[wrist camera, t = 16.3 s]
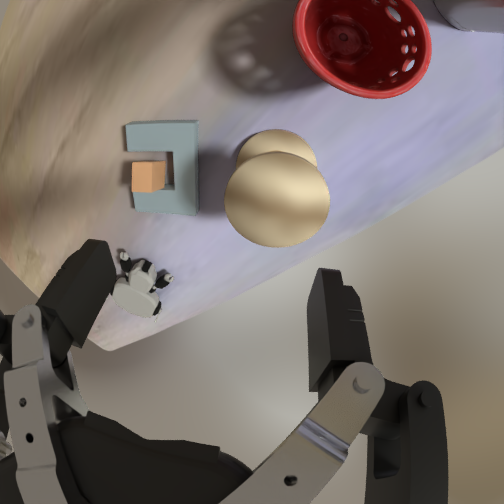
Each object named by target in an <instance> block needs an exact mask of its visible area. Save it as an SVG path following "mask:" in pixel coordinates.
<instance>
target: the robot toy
mask: <svg viewBox="0 0 504 504" xmlns="http://www.w3.org/2000/svg"><path fill="white" fill-rule="evenodd" d="M120 258H121V260H120V264H121V268H122V270H123V271H124V272H126V275H125V278H119V279H118V280H116V281H115V284H114V286H113V287H112V289H111V291H110V294H111V295H112V299H113V301H114V302H115V303H116V304H117V305H118V306H119V307H121V308H122V309H124V310H126V311H127V312H129V313H131V314H134V315H137V316H140V317H144V318H147V317H151V316H153V315H154V316H155V315H156V314H158V313H159V314H160V312H161V310H162V308H161V302H160V301H159V296H158V295H157V294H156V292H155V290H156V288H161V289H162V288H164V287H165V286H167V285H168V284H169V282H172V281H173V280H174V277H173V276H172V277H171V274H170V273H168V274H166V275H163V276H161V277H160V278H158V279H157V281H156V283H155V284H154V282H155V280H156V278H157V273H156V270H155V266H154V265H153V264H152V265H151V263H150V262H148V261H145V260H141V261H140V262H138V263H136V264H135V265H134V266H133V268H132V269H131V260H130V258H129V255H128V253H127V252H124V253H123V252H121V253H120ZM144 262H145V263H144ZM150 266H151V267H150ZM130 269H131V271H130ZM107 298H108V297H107ZM107 298H106V299H107ZM159 314H158V316H159ZM158 316H157V318H158ZM157 318H156V320H155V323H156V321H157Z"/></svg>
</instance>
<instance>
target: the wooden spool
mask: <svg viewBox="0 0 504 504" xmlns="http://www.w3.org/2000/svg"><path fill="white" fill-rule="evenodd" d="M224 206H225V211H226V214H227V217H228V219H229V221H230V223H231V224H232V226H233V227H234V228H235V230H236V231H237V232H238V233H239V234H241V235H242V236H243V237H245V238H246V239H248V240H250V241H251V242H253V243H256V244H259V245H262V246H267V247H277V248H278V247H288V246H293V245H296V244H299V243H301V242H303V241H305V240H307V239H309V238H310V237H312V236H313V235H314V234H315V233H316V232H317V231H318V230H319V229H320V228H321V227H322V225H323V224H324V222H325V220H326V218H327V215H328V212H329V207H330V196H329V191H328V187H327V185H326V182H325V180H324V178H323V176H322V175H321V173H320V172H319V171H318V169H317V162H316V158H315V155H314V153H313V151H312V149H311V147H310V146H309V145H308V143H307V142H306V141H305V140H304V139H302V138H301V137H300V136H298V135H297V134H294V133H292V132H289V131H286V130H280V129H272V130H266V131H263V132H260V133H258V134H256V135H254V136H253V137H251V138H250V139H249V140H248V141H247V142H246V143H245V144H244V145H243V147H242V148H241V150H240V152H239V155H238V158H237V161H236V170H235V171H234V173H233V174H232V176H231V177H230V180H229V182H228V184H227V187H226V191H225V196H224Z"/></svg>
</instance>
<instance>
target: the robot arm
mask: <svg viewBox="0 0 504 504" xmlns="http://www.w3.org/2000/svg"><path fill="white" fill-rule="evenodd" d="M434 3H435V5H436V7H437V9H438V10H439V12H440V13H441V15H442V16H443V17H444V18H445V19H446V20H447V21H448V22H449V23H450V24H451V25H453V26H454V27H456V28H458V29H460V30H462V31H471V32H492V33H504V0H434ZM115 281H116V268H115V265H114V262H113V259H112V256H111V252H110V249H109V246H108V243H107V242H106V241H102V240H95V239H88V240H87V241H86V242H85V243H84V244H83V246H82V247H81V248H80V250H77V251H76V252H75V253H73V254H72V255H71V256H69V257H68V258H67V260H66V261H65V262H64V264H63V265H62V266H61V269H59V270H58V272H57V273H56V276H54V278H53V279H52V280H51V282H50V283H49V285H48V286H47V288H46V289H45V291H44V292H43V294H42V295H41V297H40V298H39V300H38V302H37V303H36V304H35V305H32V304H30V305H27V306H24V307H22V308H21V309H20V310H19V311H18V312H17V313H16V314H15V315H4V314H3V313H2V312H1V310H0V354H1V355H2V356H3V358H2V361H1V363H0V504H309V503H310V502H311V501H312V500H313V499H314V498H315V497H316V496H317V495H318V493H319V492H320V491H321V490H322V489H323V488H324V486H325V485H326V484H327V483H328V482H329V481H330V479H331V478H332V477H333V476H334V475H335V473H336V472H337V471H338V469H339V468H340V467H341V466H342V464H343V463H344V461H345V459H346V457H347V455H348V452H347V451H348V448H349V446H350V444H351V443H352V442H353V440H354V439H355V438H356V436H357V435H358V433H362V434H365V435H368V448H367V477H366V491H365V503H364V504H448V451H447V437H446V427H445V419H444V410H443V403H442V397H441V394H440V391H439V390H438V388H437V387H436V386H435V385H434V384H432V383H431V382H428V381H418V382H416V383H414V384H413V385H412V386H411V387H409V386H405V385H402V384H399V383H395V382H392V381H389V380H387V379H385V378H384V377H383V375H382V374H381V372H380V371H379V370H378V369H377V368H376V367H375V366H374V365H373V363H372V359H371V353H370V347H369V341H368V336H367V331H366V326H365V323H364V315H363V313H362V306H361V302H360V298H359V296H358V294H357V293H356V292H355V290H354V289H353V287H352V286H346V285H343V281H342V276H341V272H340V270H333V269H325V268H319V269H318V270H317V274H316V276H315V279H314V283H313V286H312V289H311V292H310V295H309V299H308V303H307V325H308V353H309V354H308V355H309V392H318V399H319V400H318V403H317V404H316V405H315V406H314V407H313V409H312V410H311V411H310V412H309V413H308V414H307V416H306V417H305V418H304V419H303V420H302V421H301V423H300V424H299V425H298V426H297V427H296V428H295V429H294V430H293V431H292V432H291V434H290V435H289V436H288V437H287V438H286V439H285V440H284V441H283V442H282V443H281V444H280V445H279V446H278V447H277V448H276V449H275V450H274V451H273V452H272V453H271V454H270V455H269V456H268V457H267V458H266V459H265V460H264V461H263V462H262V463H261V464H260V465H259V466H258V467H257V468H255V469H254V470H253V471H252V470H251V469H250V468H249V467H247V466H246V465H245V464H243V463H242V462H241V461H239V460H238V459H236V458H234V457H232V456H231V455H229V454H226V453H223V452H221V451H220V447H218V446H212V445H206V444H200V443H195V442H190V441H185V440H147V439H144V438H142V437H140V436H139V435H137V434H135V433H134V432H132V431H131V430H129V429H127V428H126V427H124V426H122V425H121V424H119V423H118V422H116V421H114V420H111V419H109V418H106V417H103V416H101V415H98V414H96V413H93V412H91V411H89V409H88V407H87V405H86V403H85V402H84V400H83V399H82V397H81V395H80V392H79V388H78V384H77V379H76V375H75V370H74V366H73V361H72V356H71V352H70V351H69V349H70V347H71V345H73V346H76V347H79V348H82V346H83V344H84V342H85V340H86V338H87V336H88V334H89V332H90V329H91V327H92V325H93V323H94V321H95V319H96V317H97V316H98V314H99V312H100V310H101V308H102V306H103V304H104V302H105V300H106V298H107V297H108V295H109V293H110V291H111V289H112V287H113V286H114V284H115ZM9 428H10V433H11V438H12V443H13V447H14V452H13V453H11V452H12V447H11V445H10V443H9V442H6V438H7V434H8V430H9ZM6 454H7V455H8V456H6Z"/></svg>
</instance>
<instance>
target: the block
mask: <svg viewBox="0 0 504 504" xmlns="http://www.w3.org/2000/svg"><path fill="white" fill-rule="evenodd" d="M165 164H166V161H140V162H132V192H147V193H152V192H155V191H157V190H160V189H163V188H164V184H165Z"/></svg>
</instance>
